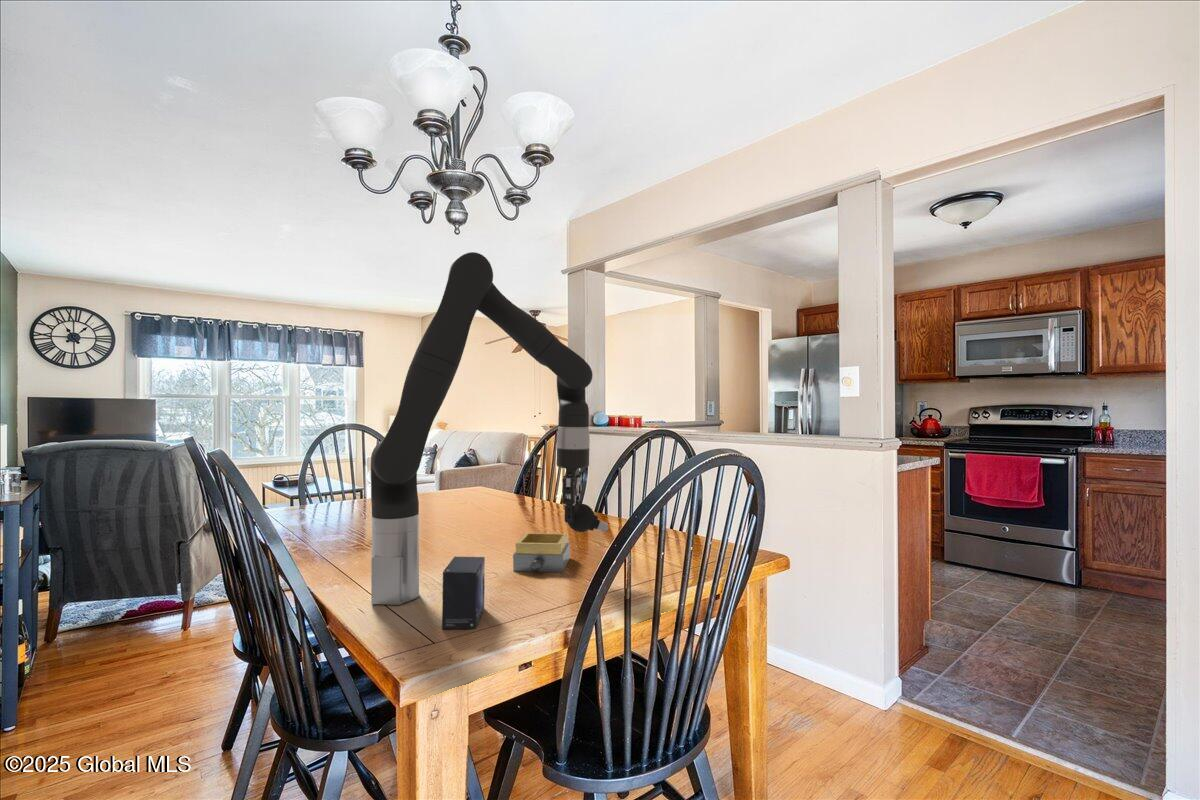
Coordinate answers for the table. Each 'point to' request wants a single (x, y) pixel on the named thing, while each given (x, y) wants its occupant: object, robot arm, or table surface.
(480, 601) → the small box
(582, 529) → the light bulb
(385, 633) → the table surface
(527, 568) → the tan and grey block
